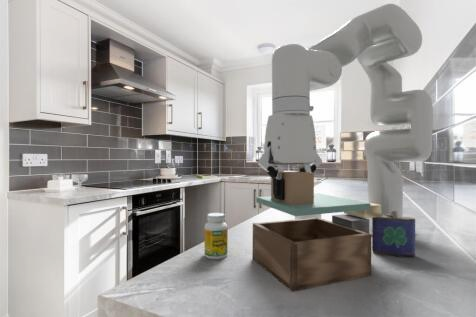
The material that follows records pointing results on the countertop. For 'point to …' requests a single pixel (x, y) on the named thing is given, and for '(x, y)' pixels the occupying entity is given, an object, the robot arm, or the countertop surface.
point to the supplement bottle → (216, 236)
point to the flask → (393, 235)
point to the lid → (308, 198)
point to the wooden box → (313, 250)
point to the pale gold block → (367, 212)
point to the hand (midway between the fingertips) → (291, 197)
